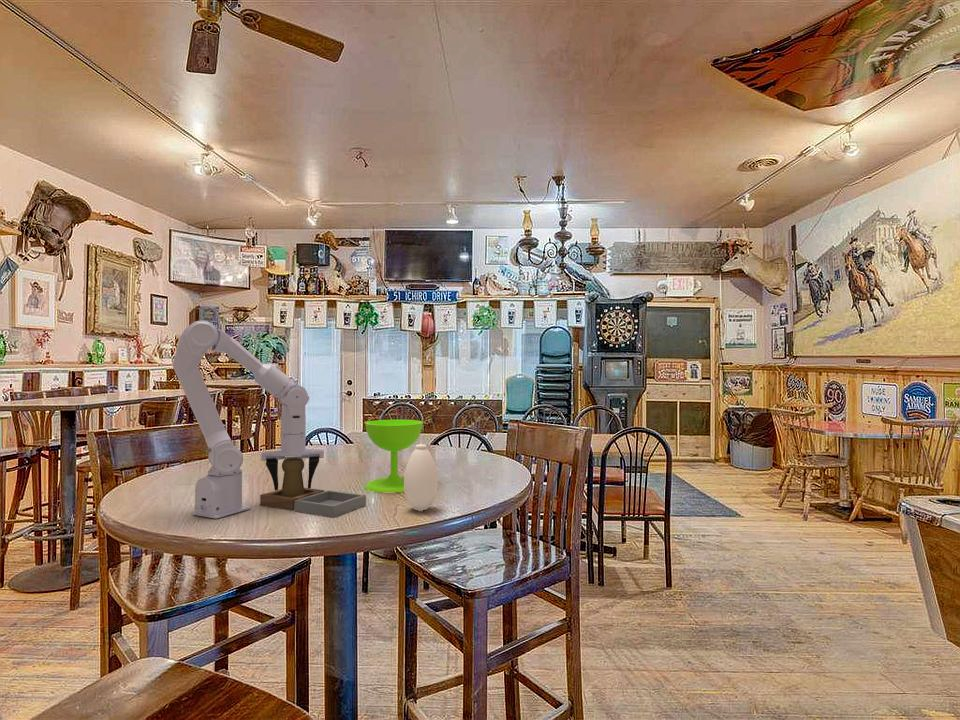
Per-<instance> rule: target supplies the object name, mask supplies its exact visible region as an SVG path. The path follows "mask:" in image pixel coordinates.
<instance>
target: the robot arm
mask: <svg viewBox="0 0 960 720" xmlns="http://www.w3.org/2000/svg"><path fill="white" fill-rule="evenodd" d="M209 350H210V351H213V352H219V353H223V354H225V355H228V356H229V357H230V358H232V359H233V360H234V361H236V362H237V363H238V364H240V365H241V366H242V367H244V368H246V370H248V371H250V372H251V373H252V374H253V377H254V383H256V384H258V386H260V387H261V388H263V390H265V391H266V392H268V393H269V394H270V395H272V396H273V397H274V398H277V399H278V401H279V403H280V404H281V415H280V416H281V417H280V419H281V420H280V421H281V424H280V426H281V427H280V433H281V434H280V450H269V451H268V450H267V451H262V452H261V455H260V456H261V457H260V458H261V459H260V460H261V462H265V465H266V467H267V469H268V472H269V473H270V475H271V476H270V477H271V479H272V483H273V487H274V491H276V490H279V476H278V475H279V473H278V472H279V461H280V460H285V459H290V458H299V459H302V460H304V459H308V480H307V488H311V489H312V483H313V481H312V480H313V477H314V474H315V472H316V469H317V467H318V465H319V463H320V459H324V458H325V457H324V456H325V449H321V448H320V449H318V448H317V449H313V448H312V449H311V448H310V449H306V440H307V439H306V438H307V437H306V436H307V435H306V433H307V432H306V429H307V428H306V427H307V425H306V424H307V423H306V419H307V415H306V414H307V413H306V406H307V404H308V403H309V400H310V396H309V395H308V391H307V390H306V388H305V387H303V386H302V385H297V384H296V381H297V380H296V379H295V378H290V377H289V376H288V375H286V374H285V373H284V372H283V371H282V370H281V369H282V368H281V366H280V365H278V364H275V365H274V364H273V363H263V362H262V361H261V360H259V359H258V358H257V357H256V356H255V355H254V354H252V353H251V352H250V351H248V350H247V349H246V348H245V347H244V346H243V345H242V344H240V342H238V341H237V340H236V339H235V338H233V337H232V336H231V335H229V334H228V333H226V332H225V331H224V330H221V329H220V328H216V326H215V325H214V324H212V323H211V322H209V321H207V320H196V321H194V322H192V323H191V324H189V325H188V326H187V327H186V328H185V329H184V330H183V332H182V333H181V334H180V336H179V338H178V341H177V344H176V349H175V354H174V357H173V361H172V368H173V370H174V373H175V375H176V378H177V379H178V381H179V383H180V385H181V388H182V390H183V392H184V395H185V397H186V399H187V401H188V404H189V407H190V408H191V410H192V412H193V415H194V418H195V420H196V422H197V423H198V427H199V428H200V431H201V433H202V435H203V437H204V440H205V444H206V445H207V449H208V455H207V457H208V461H209V463H210V464H211V465H212V466H210V468H209V469H208V471H207V475H206V476H204V477H201V478H199V479H198V480H197V481H196V484H195V488H194V511H192V515H193V516H200V517H204V518H210V519H221V518H223V517H227V516H230V515H234V514H238V513H241V512H243V511H244V512H245V511H247V510H250V509H251V506H248V505H243V469H242V468H241V467H242V465H243V463H244V456H243V455H244V454H243V453H242V451H241V450H240V449H239V448H238V447H236V446H235V445H234V443H233V440H232V439H231V437H230V436H229V433H228V431H227V430H226V428H225V425H224V423H223V421H222V418H221V416H220V414H219V412H218V410H217V407H216V405H215V403H214V400H213V398H212V396H211V393H210V392H209V389H208V387H207V385H206V382H205V380H204V377H203V376H202V373H201V371H200V369H199V365H200V364H201V361H202V360H203V358H204V356H205V354H206V353H207V352H208V351H209Z"/></svg>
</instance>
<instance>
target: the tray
mask: <svg viewBox="0 0 960 720" xmlns="http://www.w3.org/2000/svg"><path fill="white" fill-rule="evenodd" d="M365 505H366V506H367V495H365V494H362V493H352V492H345V491H338V490H337V491H336V490H330V489H329V490H324V492H321V493H318V494H314V495H311V496H308V497H304V498H301V499H298V500H294V510H293V511H294V512H297V513H304V514H307V515H314V514H316V515H317V516H320V515H322V517H327V516H328V517H329V518H333V517H334V518H335V517H339V516H341V514H342V515H344V514H347V513H350V512H353V511H355V510H358V509H361V508H363V507H366V506H365ZM360 507H361V508H360ZM357 508H358V509H357ZM354 509H355V510H354ZM349 511H350V512H349ZM316 515H315V516H316ZM328 517H327V518H328Z"/></svg>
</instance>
